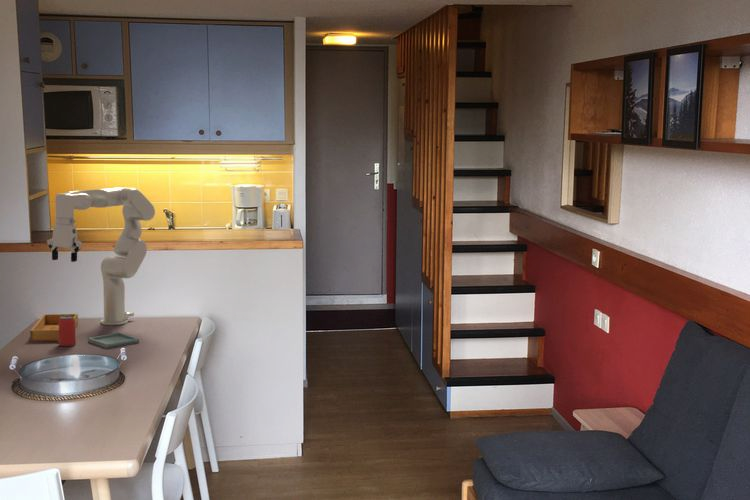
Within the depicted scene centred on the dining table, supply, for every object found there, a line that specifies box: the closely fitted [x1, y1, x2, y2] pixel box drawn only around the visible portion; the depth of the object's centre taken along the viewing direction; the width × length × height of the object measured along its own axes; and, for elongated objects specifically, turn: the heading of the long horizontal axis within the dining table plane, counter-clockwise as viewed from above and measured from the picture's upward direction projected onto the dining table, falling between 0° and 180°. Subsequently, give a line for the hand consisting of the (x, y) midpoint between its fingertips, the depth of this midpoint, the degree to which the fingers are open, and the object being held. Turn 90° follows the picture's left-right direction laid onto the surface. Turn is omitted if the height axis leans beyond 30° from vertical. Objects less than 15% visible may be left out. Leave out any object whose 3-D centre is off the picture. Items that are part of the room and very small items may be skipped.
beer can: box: [58, 316, 76, 347], centre depth 345 cm, size 7×7×12 cm
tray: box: [29, 313, 79, 342], centre depth 366 cm, size 31×15×6 cm, turn 12°
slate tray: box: [87, 332, 140, 349], centre depth 352 cm, size 15×15×2 cm
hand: (64, 260), depth 359 cm, fingers open, 9 cm apart
